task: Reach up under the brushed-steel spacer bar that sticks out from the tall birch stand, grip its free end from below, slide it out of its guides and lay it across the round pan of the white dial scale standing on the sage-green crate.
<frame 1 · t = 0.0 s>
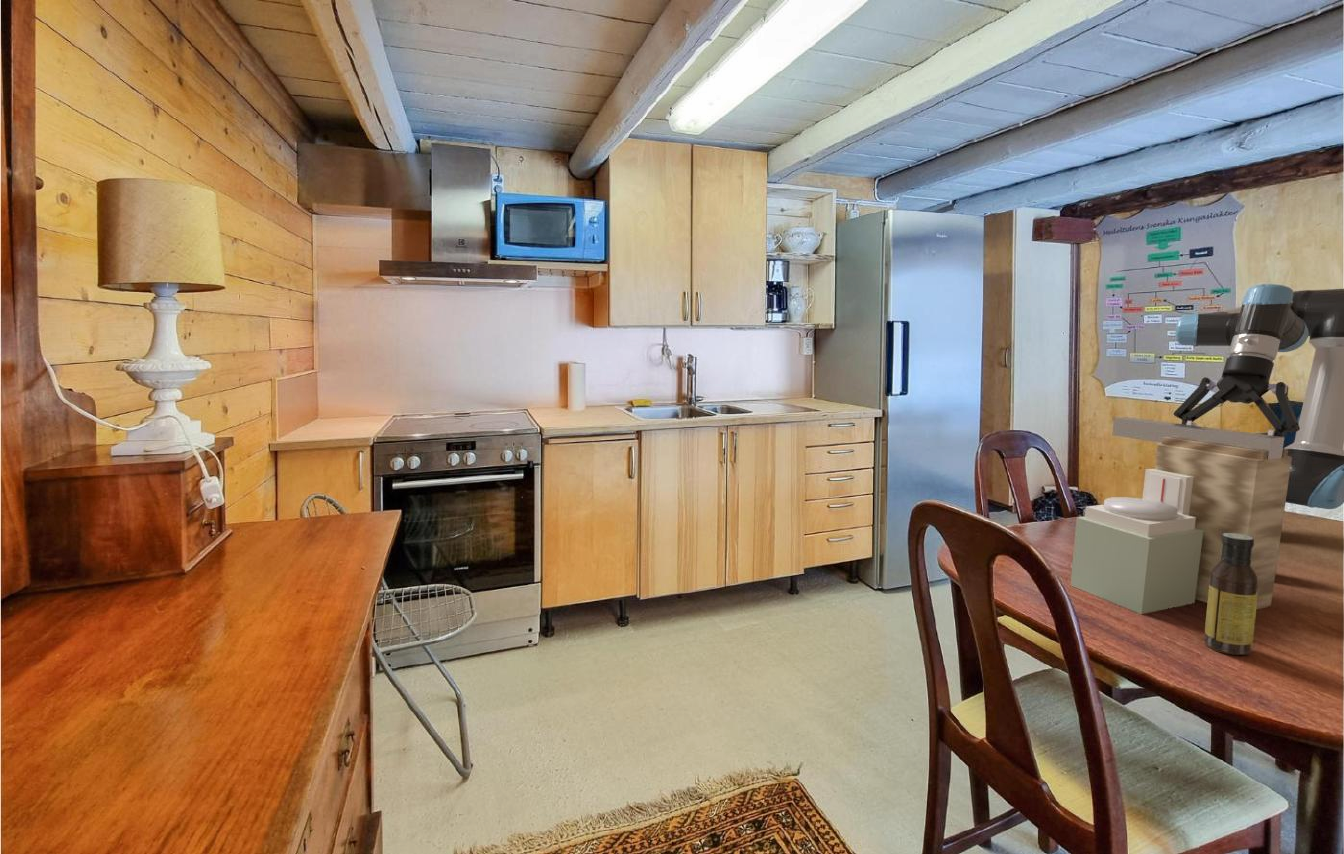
hand: (1222, 457, 134), 28 cm above the table, tool tilted 20°, fingers open, 13 cm apart
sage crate: (1130, 593, 133), on the table
supplement bottle: (1254, 575, 143), on the table
spacer bar: (1188, 445, 135), point 30 cm above the table, touching birch stand
dial scale: (1137, 523, 131), resting on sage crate
birch stand: (1203, 592, 133), on the table
sauce bottle: (1225, 648, 110), on the table
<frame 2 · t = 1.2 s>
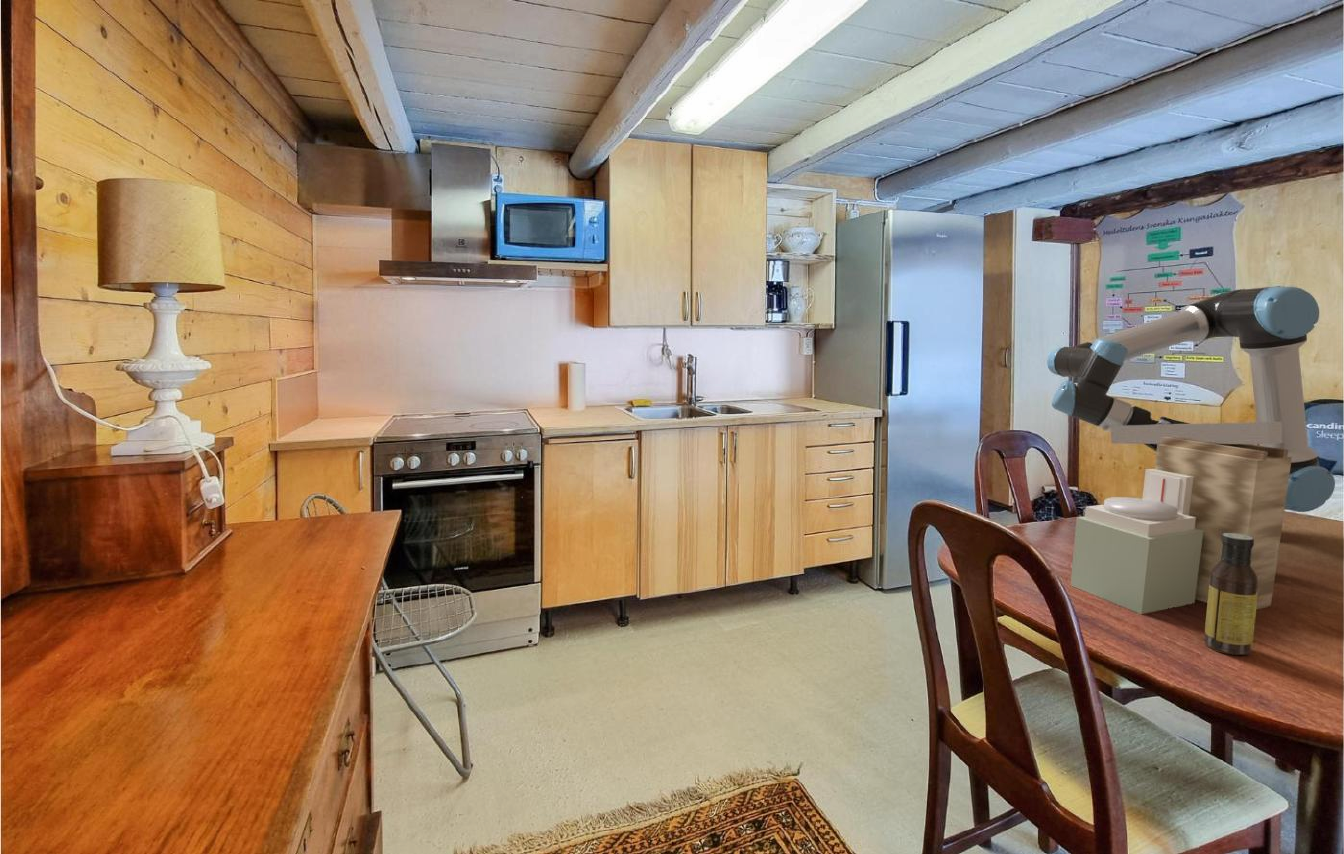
hand: (1226, 458, 145), 25 cm above the table, tool tilted 70°, fingers open, 13 cm apart
spacer bar: (1188, 443, 135), point 30 cm above the table, tilted 9°, touching birch stand
everything else where it was.
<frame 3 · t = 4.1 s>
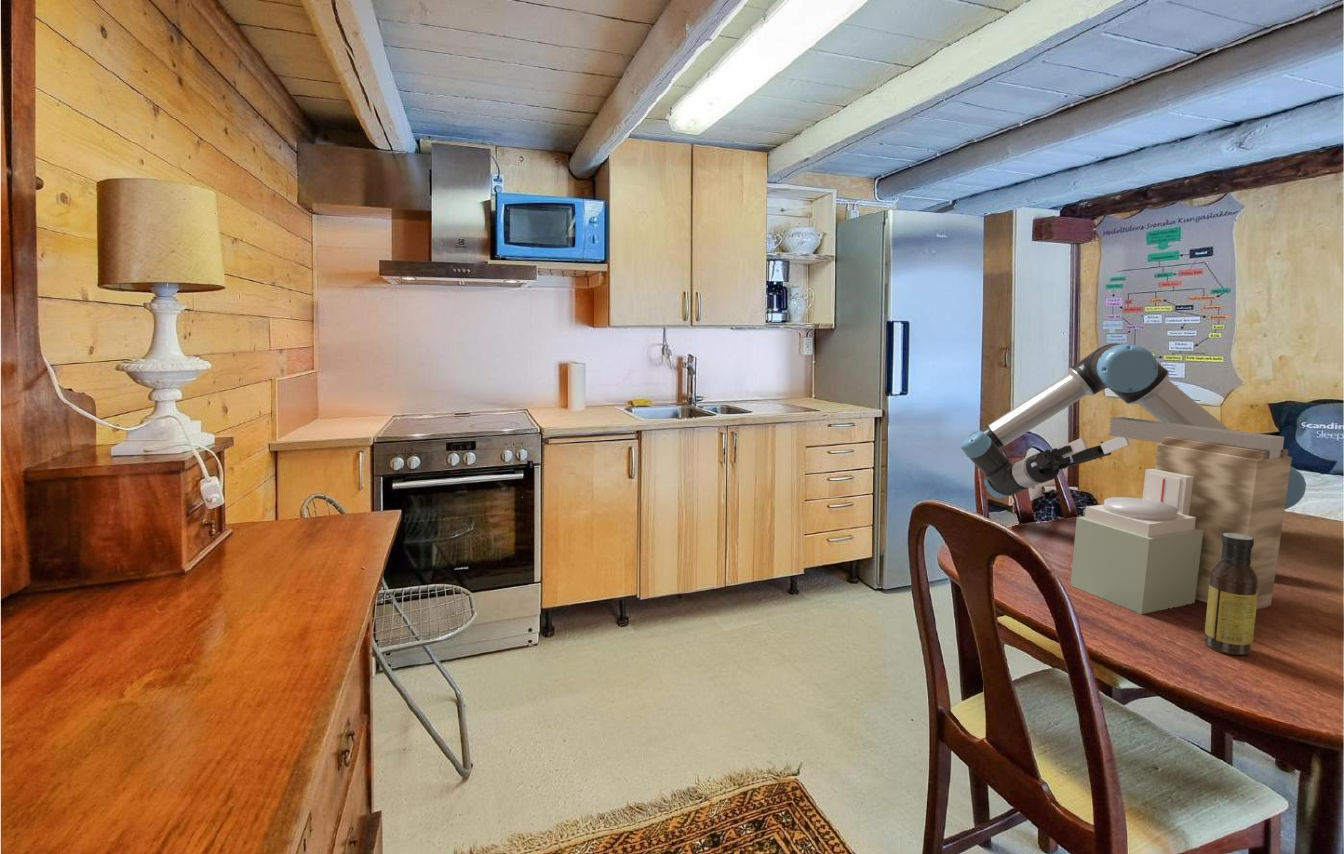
hand: (1106, 441, 151), 28 cm above the table, tool pointing upward, fingers open, 13 cm apart
spacer bar: (1187, 445, 135), point 30 cm above the table, touching birch stand
everything else where it was.
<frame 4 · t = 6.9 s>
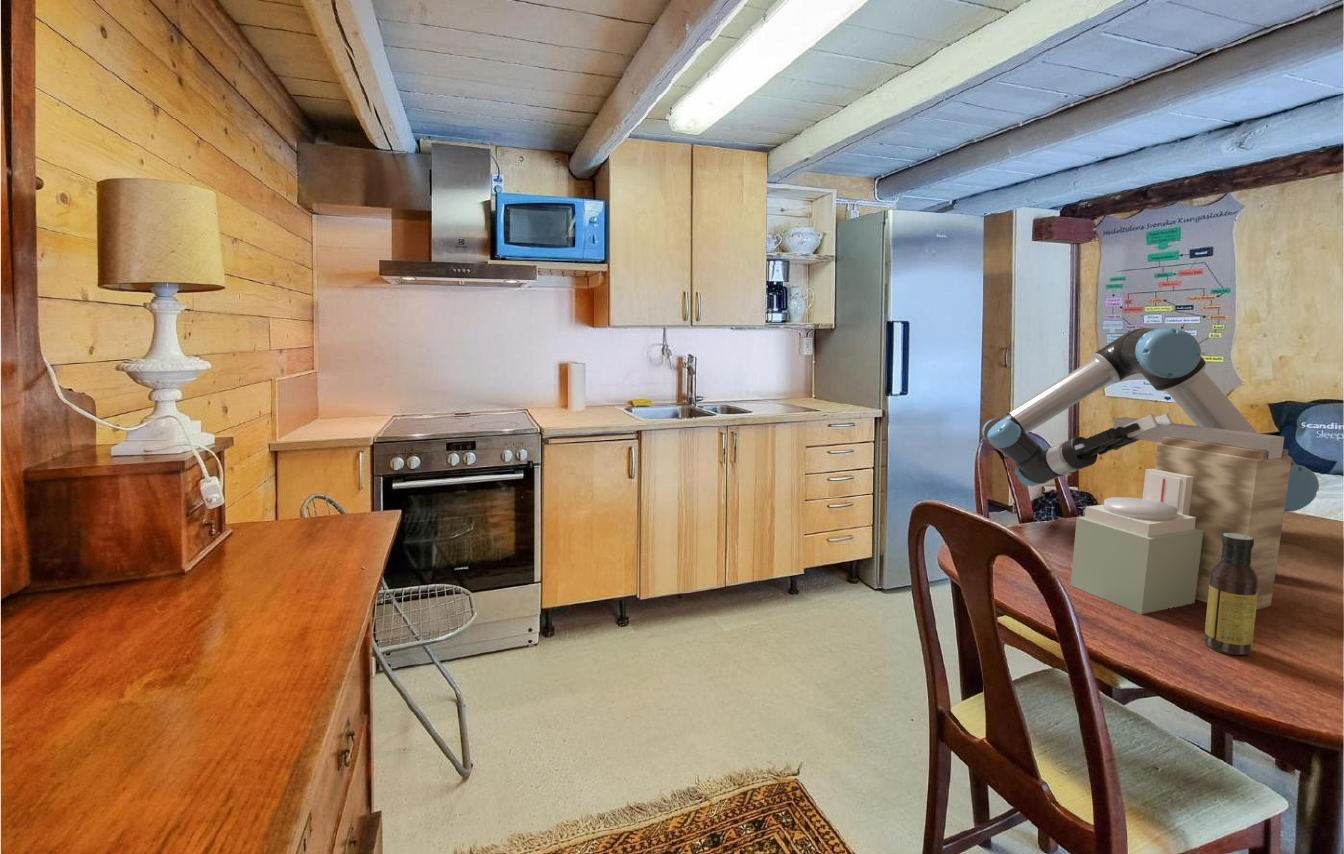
hand: (1161, 419, 139), 35 cm above the table, tool pointing upward, fingers closed on spacer bar, 4 cm apart
spacer bar: (1188, 445, 135), point 30 cm above the table, touching birch stand, gripper
everything else where it was.
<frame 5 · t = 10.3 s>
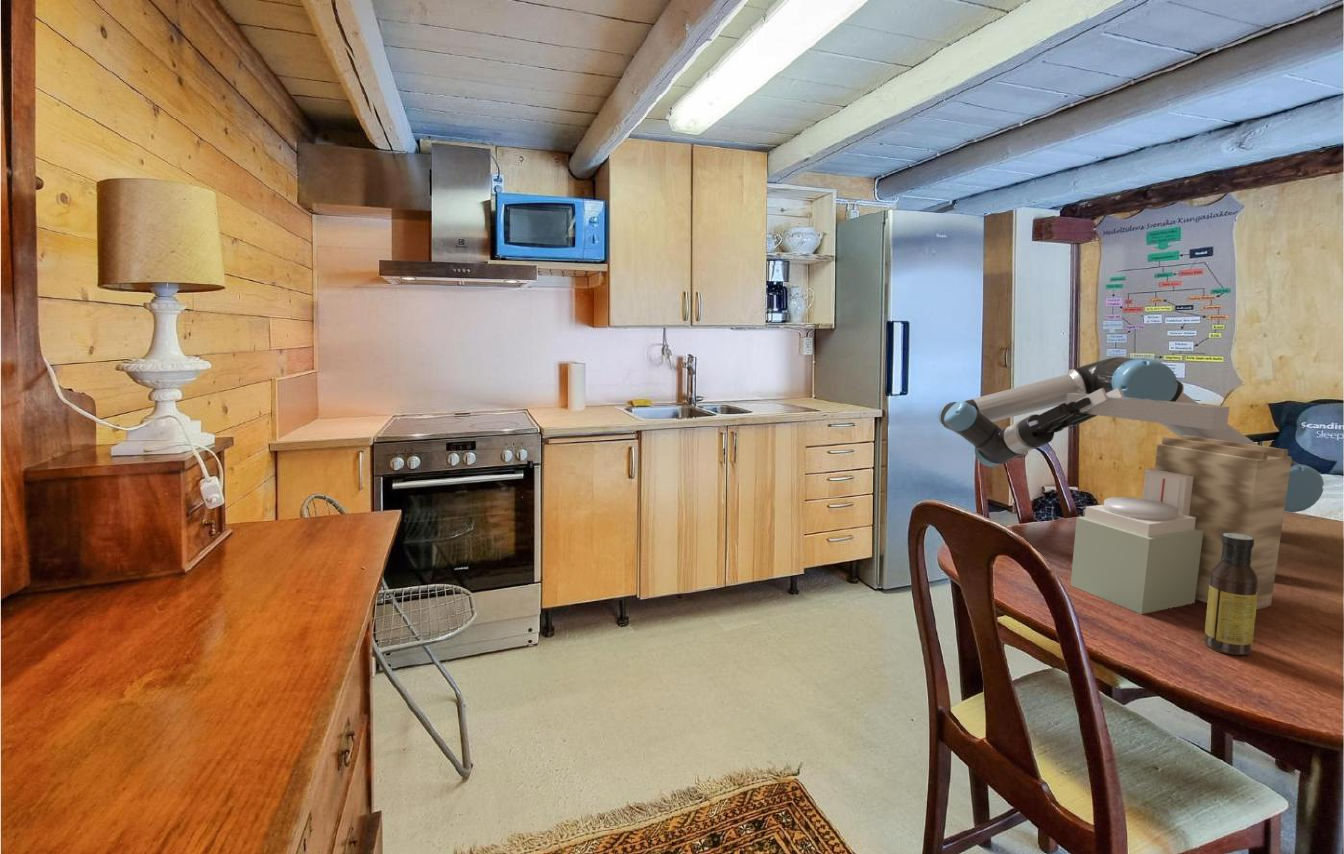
hand: (1113, 393, 136), 41 cm above the table, tool pointing upward, fingers closed on spacer bar, 4 cm apart
spacer bar: (1137, 418, 132), point 36 cm above the table, touching gripper
everything else where it was.
when the fingers open (25 cm above the table, at t = 13.8 s): spacer bar stays where it is, resting on dial scale.
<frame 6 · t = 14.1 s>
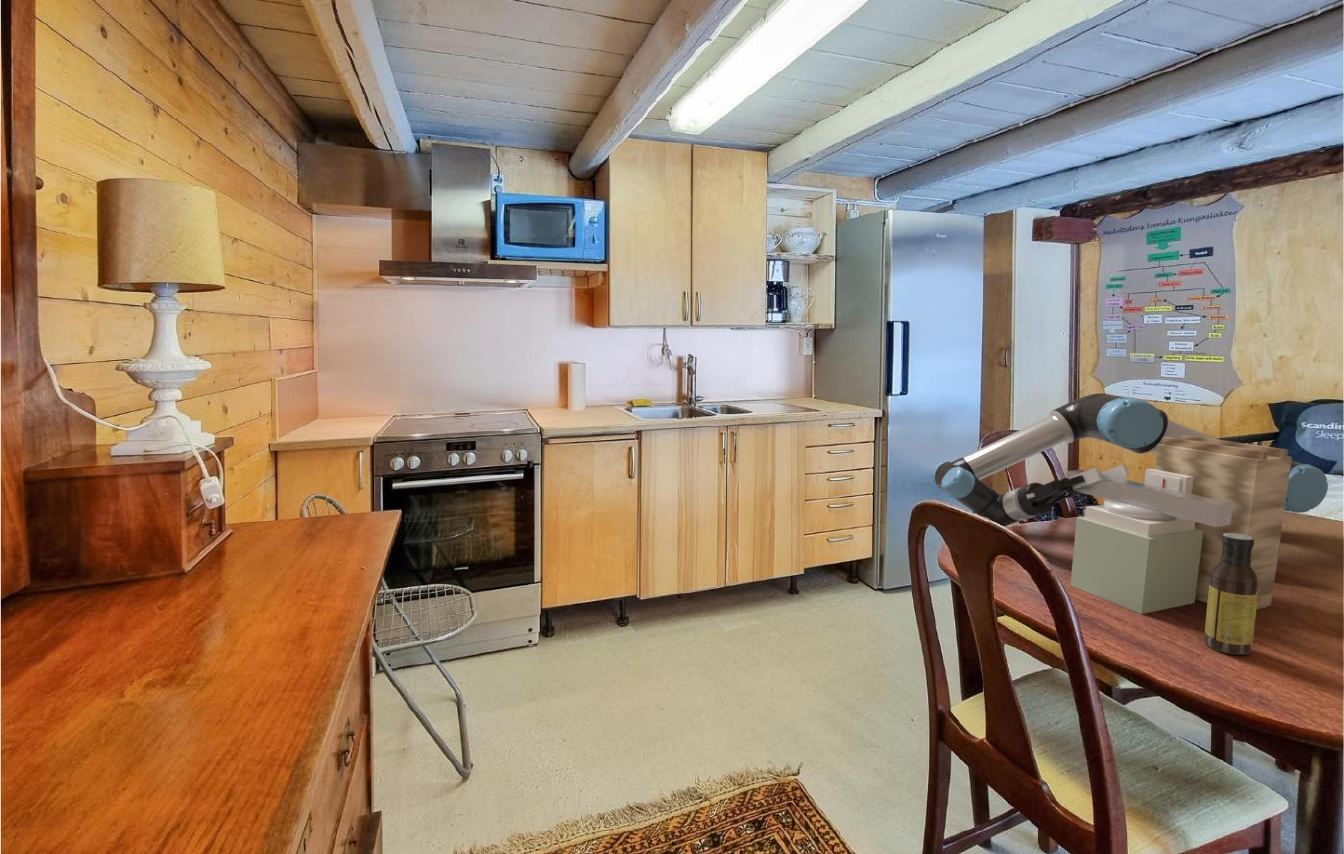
hand: (1112, 472, 135), 24 cm above the table, tool pointing upward, fingers open, 7 cm apart
spacer bar: (1139, 504, 130), point 19 cm above the table, touching dial scale
everything else where it was.
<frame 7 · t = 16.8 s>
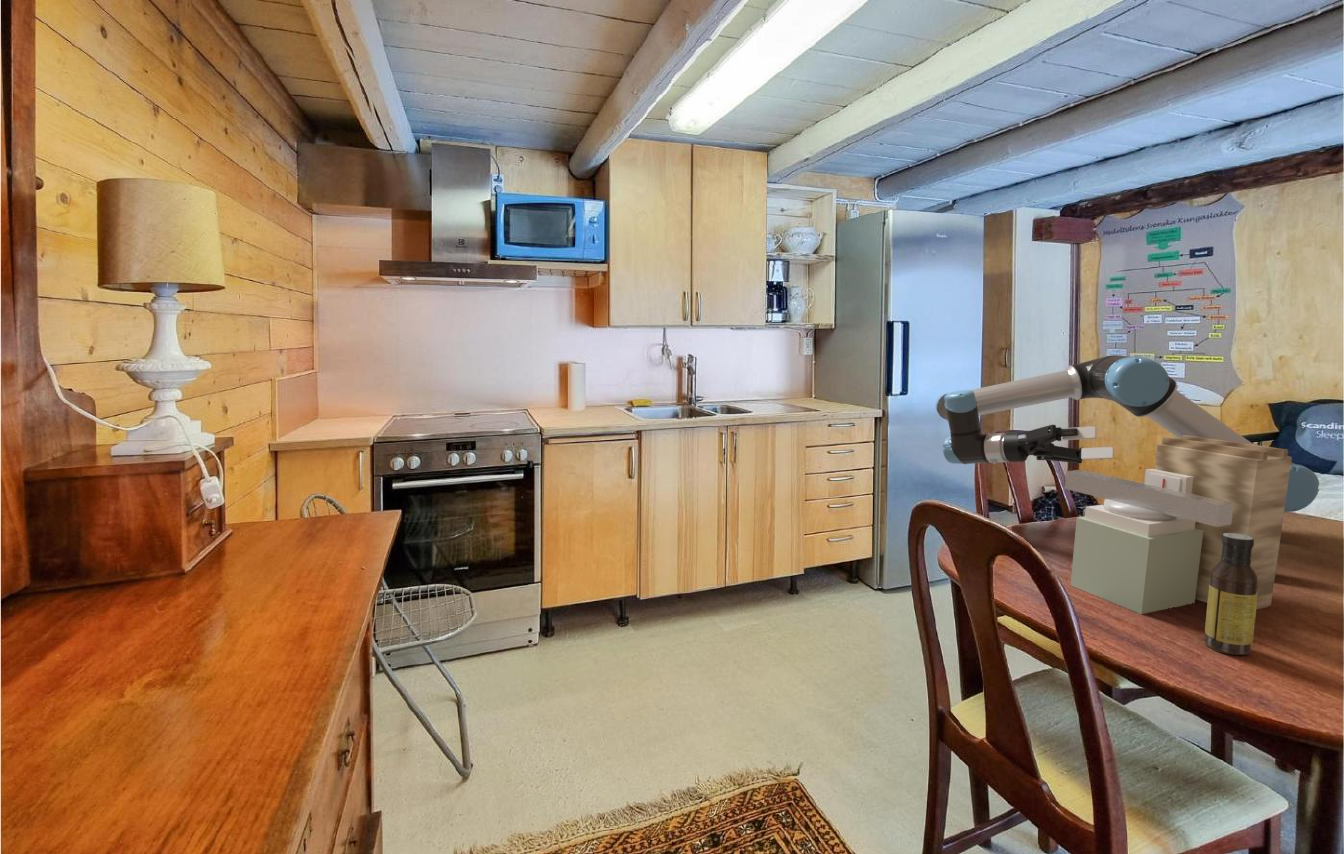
hand: (1104, 442, 148), 28 cm above the table, tool horizontal, fingers open, 13 cm apart
nothing on the table moved.
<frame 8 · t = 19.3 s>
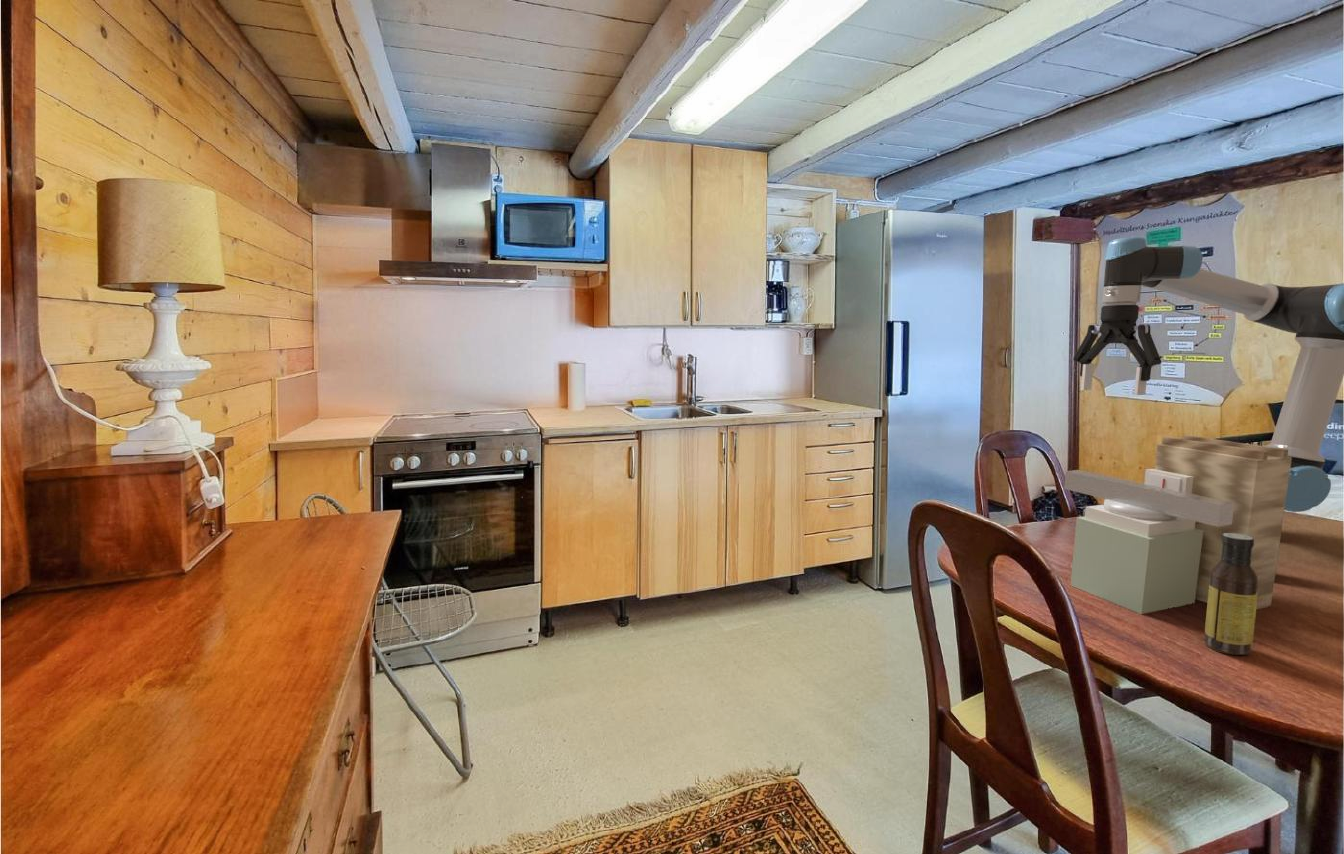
hand: (1111, 392, 158), 39 cm above the table, tool pointing down, fingers open, 13 cm apart
nothing on the table moved.
at the end: spacer bar inside the target area on the dial scale (0.0 cm from its centre), point 4.0 cm above the dial scale's base; the gripper is holding nothing; spacer bar touching dial scale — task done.
